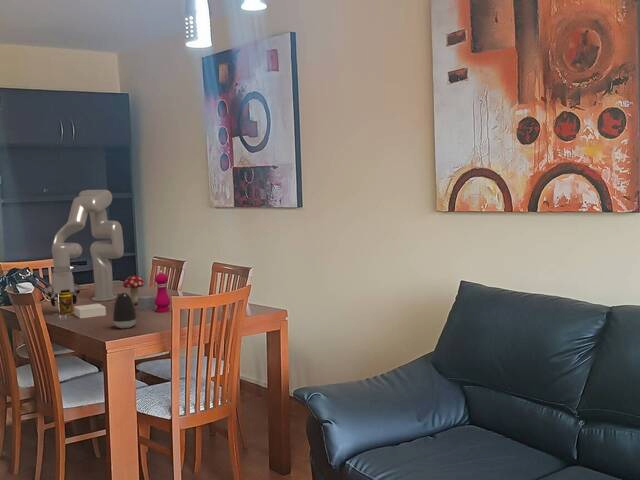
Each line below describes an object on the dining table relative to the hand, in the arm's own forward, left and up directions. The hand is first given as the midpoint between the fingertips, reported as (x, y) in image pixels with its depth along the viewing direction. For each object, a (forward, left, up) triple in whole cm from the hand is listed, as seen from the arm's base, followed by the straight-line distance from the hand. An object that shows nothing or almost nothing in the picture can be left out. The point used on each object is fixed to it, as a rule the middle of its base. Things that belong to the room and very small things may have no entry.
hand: (64, 304), depth 351 cm
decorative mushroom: (-1, +35, -5) cm, 35 cm away
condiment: (0, 0, -5) cm, 5 cm away
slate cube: (+15, +36, -4) cm, 39 cm away
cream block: (+12, +9, -4) cm, 16 cm away
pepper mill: (+27, +40, -5) cm, 49 cm away
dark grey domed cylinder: (+52, +14, -5) cm, 54 cm away
